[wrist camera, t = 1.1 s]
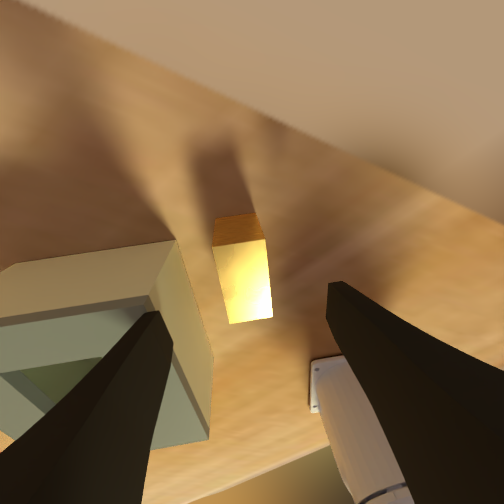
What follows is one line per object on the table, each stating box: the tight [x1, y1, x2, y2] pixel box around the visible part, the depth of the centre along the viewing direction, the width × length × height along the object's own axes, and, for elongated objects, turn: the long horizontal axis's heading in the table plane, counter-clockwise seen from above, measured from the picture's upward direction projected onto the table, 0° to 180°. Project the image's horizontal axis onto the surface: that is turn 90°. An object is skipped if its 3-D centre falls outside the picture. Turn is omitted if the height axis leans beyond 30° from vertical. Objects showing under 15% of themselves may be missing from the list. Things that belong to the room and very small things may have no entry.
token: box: [212, 213, 273, 324], centre depth 13 cm, size 5×2×4 cm, turn 6°
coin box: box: [0, 240, 214, 450], centre depth 14 cm, size 12×10×6 cm
